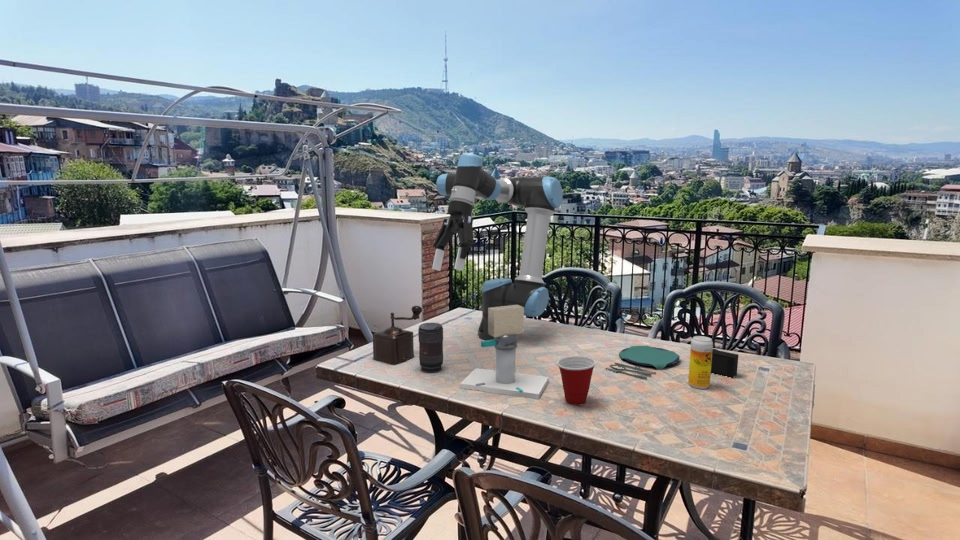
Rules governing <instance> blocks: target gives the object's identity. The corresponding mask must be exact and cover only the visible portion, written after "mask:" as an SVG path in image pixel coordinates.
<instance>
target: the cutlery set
mask: <svg viewBox="0 0 960 540" xmlns="http://www.w3.org/2000/svg"><path fill="white" fill-rule="evenodd" d="M618 356H619V358H620V359H621V360H622V361H627V362H629V363H633V364H636V365H640V366H643V367H644V366H647V367H655V368H656V369H657V370H663V369H664V368H665V367H666V366H672V365H674V364H676V363H678V362H679V360H680V358H681V356H680V355H679V354H678V353H677V352H675V351H673V350H668V349H665V348H661V347H655V346H650V345H631V346H630V347H626V348H623V349H622V350H620V352H619V353H618ZM609 366H610V367H611V368H608V367H606V368H604V370H605V369H606V370H605V371H608V370H609V372H611V371H613V372H612V373H615V372H616V373H615V374H624V375H626V376H630V377H633V378H638V379H641V380H644V379H645V380H648V378H647V376H649V377H651V376H652V374H654V375H656V371H651V370H648V369H644V368H641V367H638V366H632V365H628V364H624V363H621V362H620V363H619V362H614V364H610V365H609ZM612 366H618V367H612ZM621 367H622V368H621ZM623 368H624V369H623ZM628 368H629V369H628ZM607 369H608V370H607ZM616 369H617V370H616ZM626 371H627V372H626ZM630 372H631V373H630ZM632 372H633V373H638V374H633V373H632ZM639 374H641V375H639ZM644 375H645V376H644ZM645 380H644V381H645Z"/></svg>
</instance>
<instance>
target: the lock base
mask: <svg viewBox="0 0 960 540" xmlns="http://www.w3.org/2000/svg"><path fill="white" fill-rule="evenodd" d="M516 349H517V348H515V349H512V350H501V349H497V348H495V370H494V369H487V368H486V369H485V368H478V367H476V368H474V370H473V371H471V372H470V374H468V375H467V377H465V378H464V379H463V380H462V381H461V382H460V384H459V385H460V387H459V389H462V388H465V389H464V390H469V389H472V390H471V391H477V390H479V391H478V392H484V391H485V393H491V394H499V395H505V396H507V395H508V396H512V397H513V396H515V397H521V398H527V399H528V398H529V399H535V400H536V399H537V400H539V399H540V397H541V396H542V394H543V393H544V390H545V389H546V388H547V385H548V384H549V381H550V377H549V376H544V375H543V376H542V375H534V374H525V373H517V372H516V355H517V353H516V352H517V351H516Z"/></svg>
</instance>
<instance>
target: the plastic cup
mask: <svg viewBox="0 0 960 540" xmlns="http://www.w3.org/2000/svg"><path fill="white" fill-rule="evenodd" d="M596 363H597V362H596V360H595V359H594V358H593V357H589V356H585V355H571V356H568V355H567V356H564V357H561V358H559V359H558V360H557V361H556V365H557V366H558V369H559V372H560V375H561V383H562V390H563V395H564V400H565V402H566V403H567V404H569V405H572V406H583V405H585V404H586V402H587V401H588V400H587V399H588V396H589V395H588V393H589V391H590V387H591V386H590V385H591V381H592V376H593V373H594V368H595V366H596Z"/></svg>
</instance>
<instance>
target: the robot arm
mask: <svg viewBox="0 0 960 540" xmlns="http://www.w3.org/2000/svg"><path fill="white" fill-rule="evenodd" d="M483 162H484V161H483V158H482V157H481V156H480V155H478V154H475V153H470V152H468V153H462V154H460V156H459V158H458V163H457V164H456V170H455V173H443V174H440V175H439V176H438V177H437V179H436V184H435V185H436V186H435V187H436V191H437V193H438V194H439V195H441V196H442V197H443V196H445V197H450V199H449V200H450V201H449V202H448V206H447V210H446V211H447V214H448V215H449V219H448V218H444V219H443V221H442V225H441V227H440V229H439V231H438V233H437V236H436V238H435V240H434V241H433V245H432V247H433V248H435V253H434V258H433V261H432V262H433V263H432V267H431V269H432V270H436V271H439V272H441V269H442V264H443V261H444V256H445V252H446V249H445V248H446V246H447V245H448V243H449V242H450V240H451V239H452V237H453V236H454V235H456V234H457V236H458V239H459V247H458V250H457V254H456V258H455V263H454V270H456V271H457V270H458V271H460V272H464V267H465V263H466V259H467V254H468V250H470V248H472V247H474V245H475V243H474V242H475V241H474V230H473V224H474V223H473V222H474V217H472V213H473V209H474V205H475V200H476V199H483V200H486V201H490V202H491V201H493V200H495V201H496V202H498V203H502V204H509V205H513V206H516V207H517V206H518V207H524V211H525V213H526V214H527V219H526V226H525V231H524V232H525V233H524V239H523V246H522V248H523V249H522V252H521V253H522V255H521V262H520V268H519V269H520V270H519V275H518V276H516V277H515V278H514V283H513V281H512V279H511V278H509V277H508V278H495V279H489V280H485V281H484V282H483V283H482V291H481V293H482V295H481V297H482V300H481V305H482V307H481V308H482V309H481V310H482V313H481V315H482V316H481V320H480V323H479V326H478V329H477V337H478V336H479V337H478V338H480V339H482V340H484V341H486V340H493V339H494V337H493V336H491V335H489V334H488V308H491V307H500V306H509V305H520V306H522V307H524V317H532V318H533V317H534V318H536V317H540V316H541V315H542V314H544V312H545V310H546V308H547V306H548V304H549V299H550V295H549V290H548V289H547V288H546V287H545V284H546V283H545V282H544V280H543V278H542V276H543V270H544V263H545V262H544V261H545V255H546V248H547V242H548V240H547V239H548V234H549V233H548V232H549V226H550V219H551V217H552V216H553V215H554V214H555V212H556V209H558V208H559V207H561V205H562V203H563V197H564V196H563V195H564V194H563V189H562V185H561V182H560V181H559V180H558V179H557V178H556V177H554V176H518V177H509V178H507V177H500V178H498V179H497V178H496V177H495V176H493V175H492V174H490V173H489V172H487V171H486V170H485V169H483V165H484V164H483Z"/></svg>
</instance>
